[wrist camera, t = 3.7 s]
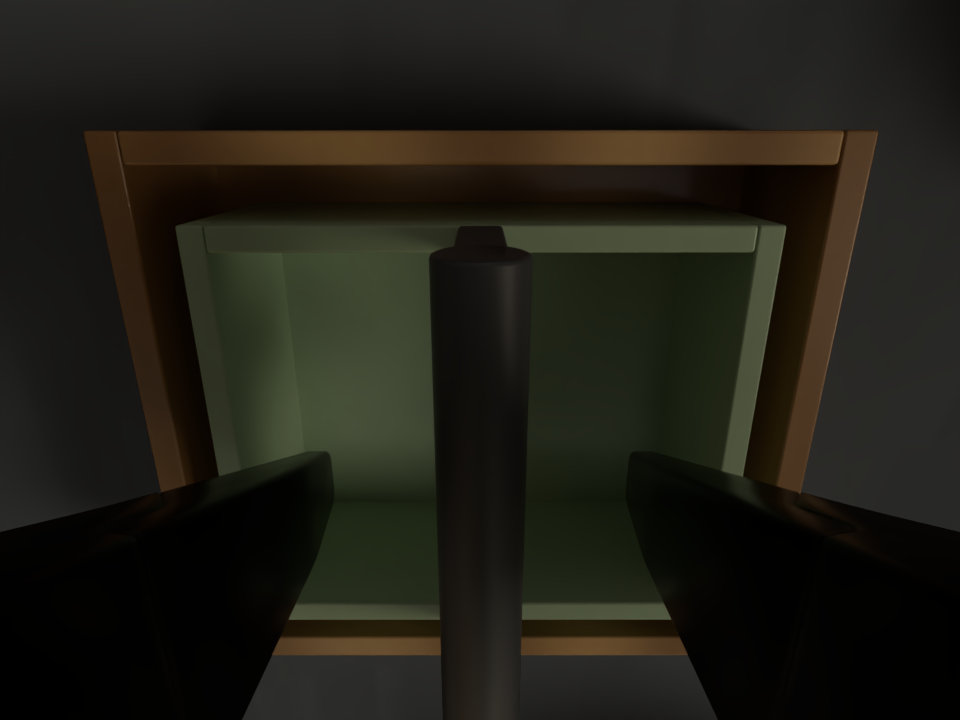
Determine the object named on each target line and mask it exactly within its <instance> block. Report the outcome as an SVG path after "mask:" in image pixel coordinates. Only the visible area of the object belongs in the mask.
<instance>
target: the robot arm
mask: <svg viewBox="0 0 960 720" xmlns="http://www.w3.org/2000/svg"><path fill="white" fill-rule="evenodd" d="M333 502H334V482H333V472H332V462H331V456H330V454H329V453H328V452H327V451H307V452H304V453H300V454H297V455H293V456H289V457H286V458H282V459H279V460H275V461H271V462H268V463H264V464H261V465H257V466H253V467H250V468H246V469H243V470H239V471H236V472H232V473H228V474H225V475H221V476H218V477H214V478H210V479H207V480H203V481H200V482H196V483H192V484H189V485H185V486H182V487H178V488H174V489H171V490H167V491H164V492H162V493H161V494H160V493H154V494H150V495H146V496H143V497H139V498H135V499H132V500H128V501H124V502H120V503H116V504H113V505H109V506H105V507H101V508H97V509H93V510H89V511H85V512H81V513H77V514H73V515H69V516H65V517H61V518H57V519H53V520H48V521H44V522H40V523H36V524H32V525H27V526H23V527H19V528H15V529H11V530H7V531H2V532H0V720H242V718H243V716H244V714H245V712H246V710H247V708H248V706H249V703H250V701H251V699H252V697H253V695H254V693H255V691H256V688H257V686H258V684H259V682H260V680H261V678H262V676H263V673H264V671H265V669H266V667H267V665H268V663H269V661H270V658H271V656H272V654H273V652H274V650H275V648H276V645H277V643H278V641H279V639H280V637H281V635H282V633H283V630H284V628H285V626H286V624H287V622H288V620H289V618H290V615H291V613H292V611H293V609H294V607H295V605H296V603H297V600H298V598H299V596H300V594H301V592H302V590H303V588H304V585H305V583H306V581H307V579H308V577H309V575H310V573H311V570H312V568H313V566H314V563H315V561H316V559H317V556H318V553H319V550H320V546H321V543H322V540H323V536H324V533H325V530H326V526H327V523H328V519H329V516H330V513H331V509H332V506H333ZM626 502H627V506H628V510H629V513H630V516H631V520H632V523H633V526H634V530H635V533H636V536H637V540H638V543H639V546H640V550H641V553H642V556H643V559H644V561H645V564H646V566H647V568H648V570H649V573H650V575H651V577H652V579H653V581H654V583H655V585H656V588H657V590H658V592H659V594H660V596H661V598H662V601H663V603H664V605H665V607H666V609H667V611H668V613H669V616H670V618H671V620H672V622H673V624H674V626H675V628H676V631H677V633H678V635H679V637H680V639H681V641H682V643H683V646H684V648H685V650H686V652H687V654H688V656H689V658H690V661H691V663H692V665H693V667H694V669H695V671H696V674H697V676H698V678H699V680H700V682H701V684H702V686H703V689H704V691H705V693H706V695H707V697H708V699H709V701H710V704H711V706H712V708H713V710H714V712H715V714H716V716H717V719H718V720H960V532H957V531H953V530H949V529H945V528H941V527H937V526H932V525H928V524H924V523H920V522H916V521H912V520H907V519H903V518H899V517H895V516H891V515H887V514H883V513H879V512H875V511H871V510H867V509H863V508H859V507H855V506H851V505H847V504H843V503H840V502H836V501H832V500H828V499H825V498H821V497H817V496H814V495H810V494H806V493H800V495H799V493H798V492H796V491H793V490H789V489H785V488H782V487H778V486H775V485H771V484H768V483H764V482H760V481H757V480H753V479H750V478H746V477H742V476H739V475H735V474H732V473H728V472H724V471H721V470H717V469H714V468H710V467H706V466H703V465H699V464H696V463H692V462H689V461H685V460H681V459H678V458H674V457H671V456H667V455H663V454H660V453H656V452H653V451H633V452H632V453H631V454H630V456H629V461H628V471H627V482H626Z"/></svg>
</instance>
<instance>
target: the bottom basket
mask: <svg viewBox="0 0 960 720" xmlns="http://www.w3.org/2000/svg"><path fill="white" fill-rule="evenodd" d="M83 134H84V139H85V144H86V148H87V153H88V158H89V162H90V167H91V171H92V176H93V181H94V185H95V190H96V194H97V199H98V204H99V208H100V213H101V217H102V222H103V227H104V231H105V236H106V241H107V245H108V250H109V254H110V259H111V264H112V268H113V273H114V277H115V282H116V287H117V291H118V296H119V301H120V305H121V310H122V314H123V319H124V324H125V328H126V333H127V337H128V342H129V347H130V351H131V356H132V360H133V365H134V370H135V374H136V379H137V384H138V388H139V393H140V397H141V402H142V407H143V411H144V416H145V420H146V425H147V430H148V434H149V439H150V443H151V448H152V453H153V457H154V462H155V467H156V471H157V476H158V480H159V485H160V490H161V493H162V492H164V491H167V490H171V489H174V488H178V487H182V486H185V485H189V484H192V483H196V482H200V481H203V480H207V479H210V478H214V477H218V476H219V474H218V468H217V462H216V457H215V451H214V445H213V440H212V434H211V428H210V422H209V417H208V411H207V405H206V400H205V394H204V388H203V383H202V377H201V371H200V366H199V360H198V354H197V348H196V343H195V337H194V331H193V326H192V320H191V314H190V309H189V303H188V297H187V292H186V286H185V280H184V274H183V269H182V263H181V257H180V252H179V246H178V240H177V235H176V229H175V228H176V226H177V225H181V224H184V223H188V222H192V221H195V220H199V219H203V218H206V217H210V216H214V215H218V214H221V213H225V212H229V211H232V210H236V209H240V208H243V207H247V206H251V205H254V204H258V203H262V202H701V203H704V204H708V205H712V206H716V207H719V208H723V209H727V210H731V211H734V212H738V213H742V214H745V215H749V216H753V217H757V218H760V219H764V220H768V221H771V222H775V223H779V224H783V225H785V226H786V232H785V238H784V244H783V249H782V255H781V261H780V266H779V272H778V278H777V284H776V289H775V295H774V301H773V306H772V312H771V318H770V324H769V329H768V335H767V341H766V346H765V352H764V358H763V363H762V369H761V375H760V381H759V386H758V392H757V398H756V403H755V409H754V415H753V421H752V426H751V432H750V438H749V443H748V449H747V455H746V461H745V466H744V472H743V477H746V478H750V479H753V480H757V481H760V482H764V483H768V484H771V485H775V486H778V487H782V488H785V489H789V490H793V491H796V492H798V493H799V495H800V493H801V488H802V484H803V479H804V474H805V470H806V465H807V460H808V456H809V451H810V447H811V442H812V437H813V433H814V428H815V423H816V419H817V414H818V410H819V405H820V400H821V396H822V391H823V386H824V382H825V377H826V373H827V368H828V363H829V359H830V354H831V349H832V345H833V340H834V336H835V331H836V326H837V322H838V317H839V312H840V308H841V303H842V299H843V294H844V289H845V285H846V280H847V275H848V271H849V266H850V262H851V257H852V252H853V248H854V243H855V238H856V234H857V229H858V225H859V220H860V215H861V211H862V206H863V201H864V197H865V192H866V188H867V183H868V178H869V174H870V169H871V164H872V160H873V155H874V151H875V146H876V141H877V137H878V131H877V130H121V131H115V130H86V131H84V133H83ZM272 655H441V641H440V620H288V622H287V624H286V626H285V628H284V630H283V633H282V635H281V637H280V639H279V641H278V643H277V645H276V648H275V650H274V652H273V654H272ZM521 655H688V654H687V652H686V650H685V648H684V646H683V643H682V641H681V639H680V637H679V635H678V633H677V631H676V628H675V626H674V624H673V622H672V620H522V633H521Z"/></svg>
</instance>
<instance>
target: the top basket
mask: <svg viewBox="0 0 960 720" xmlns="http://www.w3.org/2000/svg"><path fill="white" fill-rule="evenodd" d="M175 229H176V235H177V240H178V246H179V252H180V257H181V263H182V269H183V274H184V280H185V286H186V292H187V297H188V303H189V309H190V314H191V320H192V326H193V331H194V337H195V343H196V348H197V354H198V360H199V366H200V371H201V377H202V383H203V388H204V394H205V400H206V405H207V411H208V417H209V422H210V428H211V434H212V440H213V445H214V451H215V457H216V462H217V468H218V474H219V476H221V475H225V474H228V473H232V472H236V471H239V470H243V469H246V468H250V467H253V466H257V465H261V464H264V463H268V462H271V461H275V460H279V459H282V458H286V457H289V456H293V455H297V454H300V453H304V452H307V451H327V452H328V453H329V454H330V456H331V462H332V472H333V482H334V502H333V506H332V509H331V513H330V516H329V519H328V523H327V526H326V530H325V533H324V536H323V540H322V543H321V546H320V550H319V553H318V556H317V559H316V561H315V563H314V566H313V568H312V570H311V573H310V575H309V577H308V579H307V581H306V583H305V585H304V588H303V590H302V592H301V594H300V596H299V598H298V600H297V603H296V605H295V607H294V609H293V611H292V613H291V615H290V618H289V620H440V641H441V673H442V706H443V720H519V700H520V667H521V633H522V620H671V618H670V616H669V613H668V611H667V609H666V607H665V605H664V603H663V601H662V598H661V596H660V594H659V592H658V590H657V588H656V585H655V583H654V581H653V579H652V577H651V575H650V573H649V570H648V568H647V566H646V564H645V561H644V559H643V556H642V553H641V550H640V546H639V543H638V540H637V536H636V533H635V530H634V526H633V523H632V520H631V516H630V513H629V510H628V506H627V502H626V482H627V471H628V461H629V456H630V454H631V453H632V452H633V451H653V452H656V453H660V454H663V455H667V456H671V457H674V458H678V459H681V460H685V461H689V462H692V463H696V464H699V465H703V466H706V467H710V468H714V469H717V470H721V471H724V472H728V473H732V474H735V475H739V476H742V477H743V472H744V466H745V461H746V455H747V449H748V443H749V438H750V432H751V426H752V421H753V415H754V409H755V403H756V398H757V392H758V386H759V381H760V375H761V369H762V363H763V358H764V352H765V346H766V341H767V335H768V329H769V324H770V318H771V312H772V306H773V301H774V295H775V289H776V284H777V278H778V272H779V266H780V261H781V255H782V249H783V244H784V238H785V232H786V226H785V225H783V224H779V223H775V222H771V221H768V220H764V219H760V218H757V217H753V216H749V215H745V214H742V213H738V212H734V211H731V210H727V209H723V208H719V207H716V206H712V205H708V204H704V203H701V202H262V203H258V204H254V205H251V206H247V207H243V208H240V209H236V210H232V211H229V212H225V213H221V214H218V215H214V216H210V217H206V218H203V219H199V220H195V221H192V222H188V223H184V224H181V225H177V226H176V228H175Z"/></svg>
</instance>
